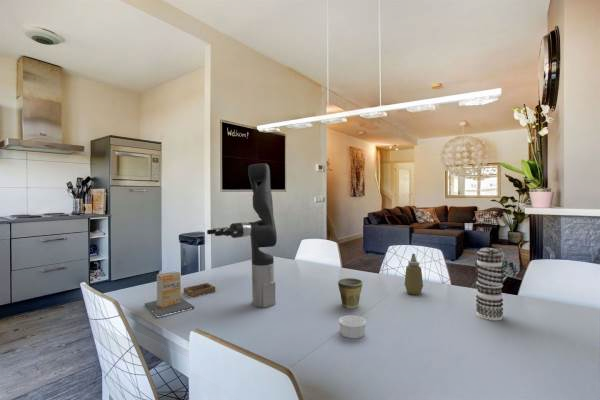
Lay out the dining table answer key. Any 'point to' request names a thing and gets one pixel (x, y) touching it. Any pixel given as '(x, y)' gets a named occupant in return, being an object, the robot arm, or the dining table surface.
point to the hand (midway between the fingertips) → (211, 233)
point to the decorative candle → (489, 284)
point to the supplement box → (168, 289)
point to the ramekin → (352, 326)
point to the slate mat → (170, 309)
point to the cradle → (199, 290)
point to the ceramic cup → (350, 292)
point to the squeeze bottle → (413, 277)
